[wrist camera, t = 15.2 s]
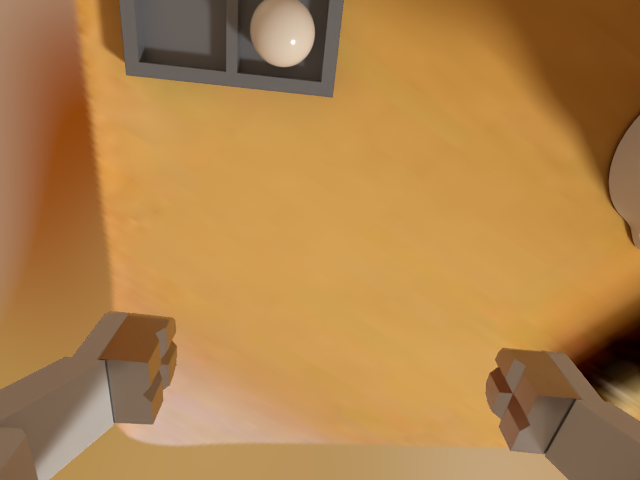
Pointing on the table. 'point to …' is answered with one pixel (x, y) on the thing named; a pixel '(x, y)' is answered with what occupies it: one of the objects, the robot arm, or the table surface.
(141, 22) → the carton
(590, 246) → the table surface
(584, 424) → the robot arm
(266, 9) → the egg
